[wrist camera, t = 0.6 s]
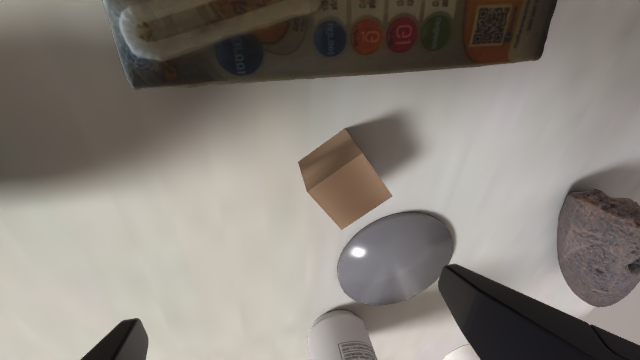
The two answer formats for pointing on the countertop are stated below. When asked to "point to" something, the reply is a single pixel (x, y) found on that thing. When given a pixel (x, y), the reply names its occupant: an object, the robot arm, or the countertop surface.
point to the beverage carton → (318, 37)
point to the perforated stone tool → (599, 246)
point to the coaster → (394, 258)
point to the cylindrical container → (462, 354)
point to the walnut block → (342, 180)
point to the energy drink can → (340, 338)
